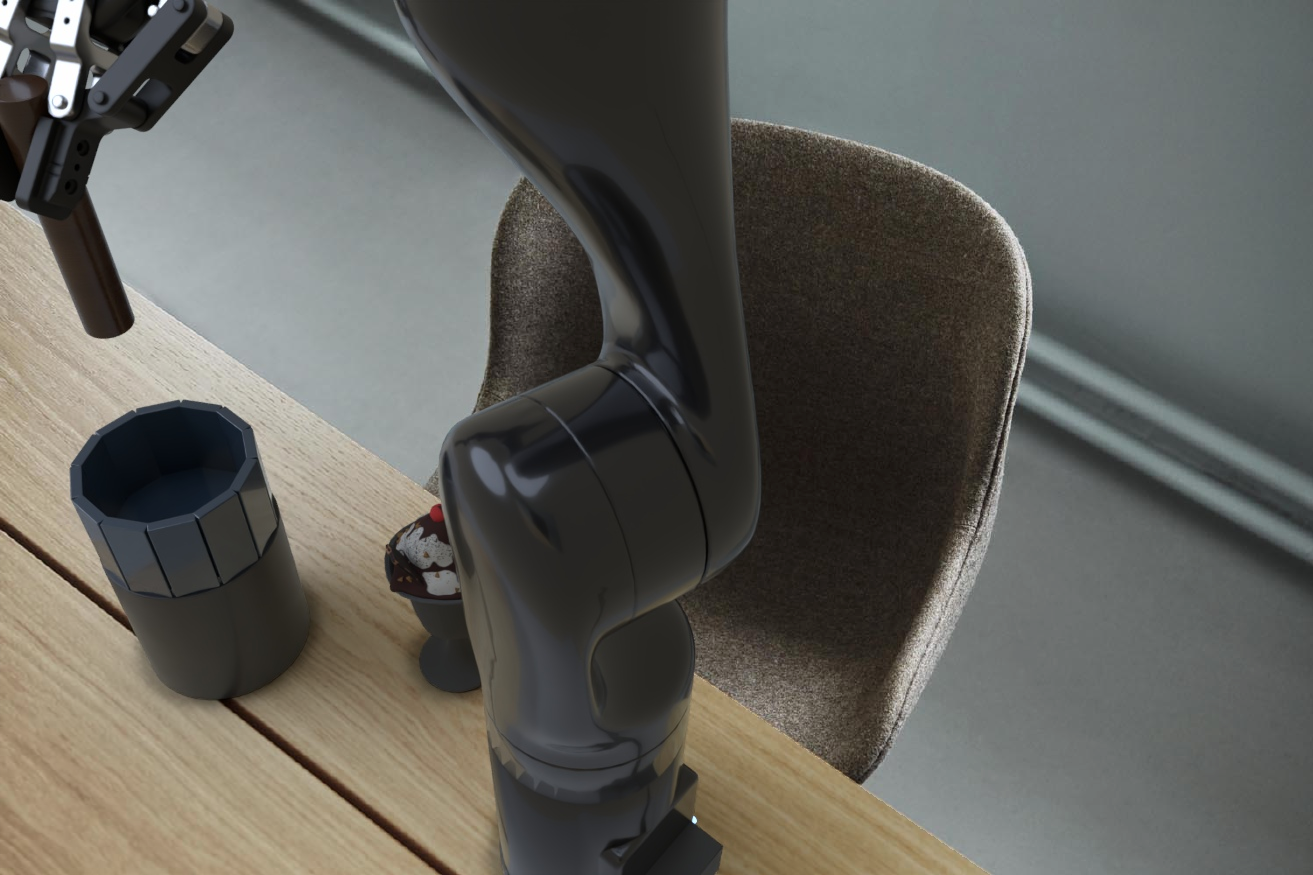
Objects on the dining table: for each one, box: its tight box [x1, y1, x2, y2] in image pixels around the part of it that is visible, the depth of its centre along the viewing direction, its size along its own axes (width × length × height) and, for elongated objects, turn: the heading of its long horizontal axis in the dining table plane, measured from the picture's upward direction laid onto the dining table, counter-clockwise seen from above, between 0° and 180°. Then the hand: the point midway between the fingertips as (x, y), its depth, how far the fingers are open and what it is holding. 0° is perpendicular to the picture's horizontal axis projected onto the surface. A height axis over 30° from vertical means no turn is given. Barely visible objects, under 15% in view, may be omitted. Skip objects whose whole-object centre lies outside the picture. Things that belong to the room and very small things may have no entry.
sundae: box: [383, 503, 481, 693], centre depth 65 cm, size 7×7×15 cm
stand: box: [99, 492, 311, 701], centre depth 67 cm, size 10×10×10 cm
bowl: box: [68, 399, 278, 598], centre depth 62 cm, size 9×9×6 cm
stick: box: [0, 74, 136, 340], centre depth 49 cm, size 2×2×12 cm
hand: (15, 203), depth 46 cm, fingers closed on stick, 2 cm apart
